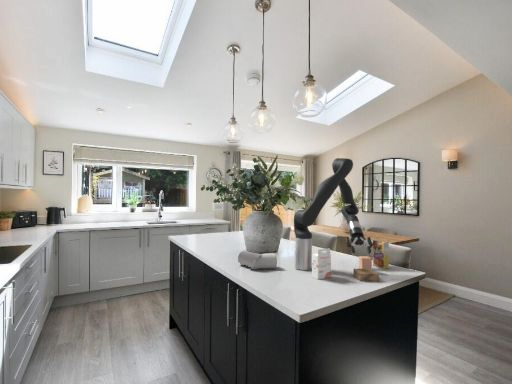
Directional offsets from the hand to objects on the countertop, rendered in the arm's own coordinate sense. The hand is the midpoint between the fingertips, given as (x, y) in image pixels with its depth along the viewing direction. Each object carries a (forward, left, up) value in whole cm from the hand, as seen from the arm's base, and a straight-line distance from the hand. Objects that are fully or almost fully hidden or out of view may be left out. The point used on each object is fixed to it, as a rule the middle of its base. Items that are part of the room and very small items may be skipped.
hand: (361, 252), depth 149 cm
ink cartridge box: (-26, -18, -9) cm, 33 cm away
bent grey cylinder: (-60, -1, -10) cm, 61 cm away
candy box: (+13, +6, -9) cm, 17 cm away
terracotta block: (0, -6, -9) cm, 11 cm away
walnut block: (-4, -18, -10) cm, 20 cm away
